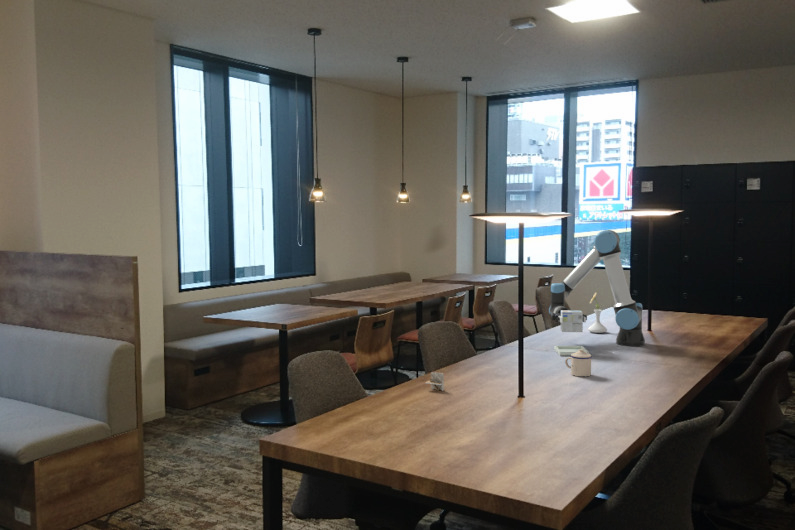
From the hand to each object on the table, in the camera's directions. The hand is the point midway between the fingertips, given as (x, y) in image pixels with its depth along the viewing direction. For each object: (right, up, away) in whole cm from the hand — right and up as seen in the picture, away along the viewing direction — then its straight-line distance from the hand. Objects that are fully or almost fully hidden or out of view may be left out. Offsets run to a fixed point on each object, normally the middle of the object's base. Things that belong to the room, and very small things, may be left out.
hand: (573, 320), depth 350 cm
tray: (0, -17, +5) cm, 18 cm away
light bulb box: (0, -6, +4) cm, 8 cm away
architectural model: (-74, -24, -69) cm, 104 cm away
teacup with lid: (-9, -21, -43) cm, 49 cm away
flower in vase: (+31, -13, +65) cm, 73 cm away
